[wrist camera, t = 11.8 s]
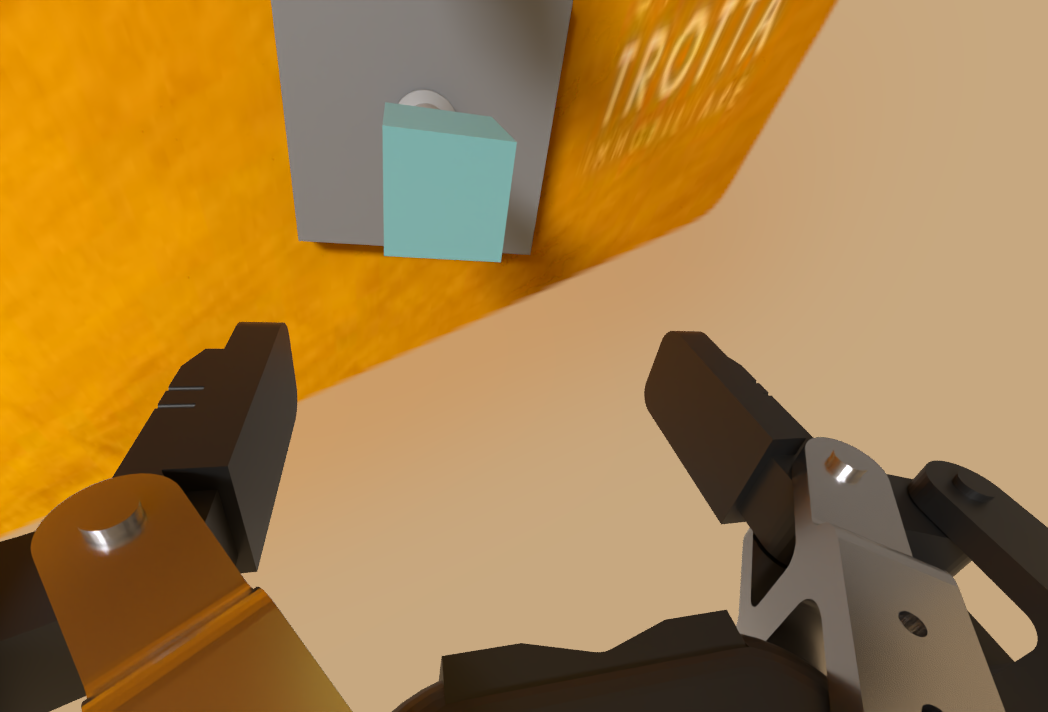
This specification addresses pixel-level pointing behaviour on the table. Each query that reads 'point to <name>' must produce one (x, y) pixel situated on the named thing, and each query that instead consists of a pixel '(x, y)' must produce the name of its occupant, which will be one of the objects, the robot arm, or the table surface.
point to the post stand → (410, 96)
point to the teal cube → (445, 184)
